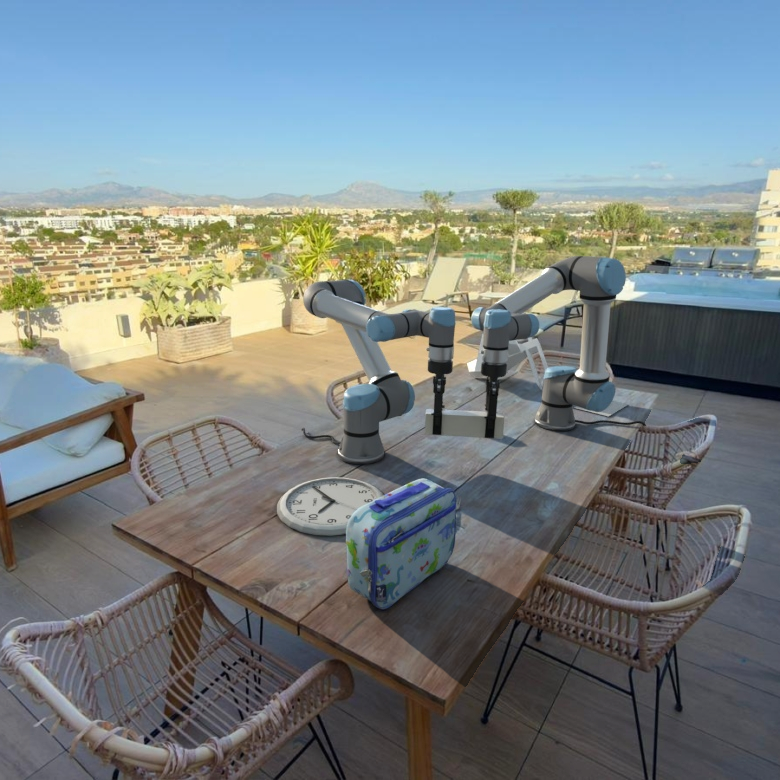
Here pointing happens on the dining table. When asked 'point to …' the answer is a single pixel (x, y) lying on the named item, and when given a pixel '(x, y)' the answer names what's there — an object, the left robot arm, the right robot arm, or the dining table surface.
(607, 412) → the invitation card
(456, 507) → the fork
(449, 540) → the lunch box
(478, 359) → the white plastic object
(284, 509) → the wall clock
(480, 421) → the plank
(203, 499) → the dining table surface
